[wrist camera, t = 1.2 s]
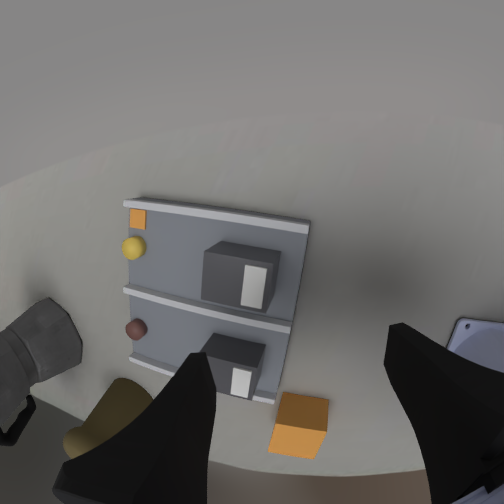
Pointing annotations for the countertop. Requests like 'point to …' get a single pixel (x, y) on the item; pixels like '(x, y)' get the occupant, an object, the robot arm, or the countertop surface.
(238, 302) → the toggle
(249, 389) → the toggle
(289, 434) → the block
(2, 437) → the coffeepot
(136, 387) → the cork
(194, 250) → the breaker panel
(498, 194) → the countertop surface
